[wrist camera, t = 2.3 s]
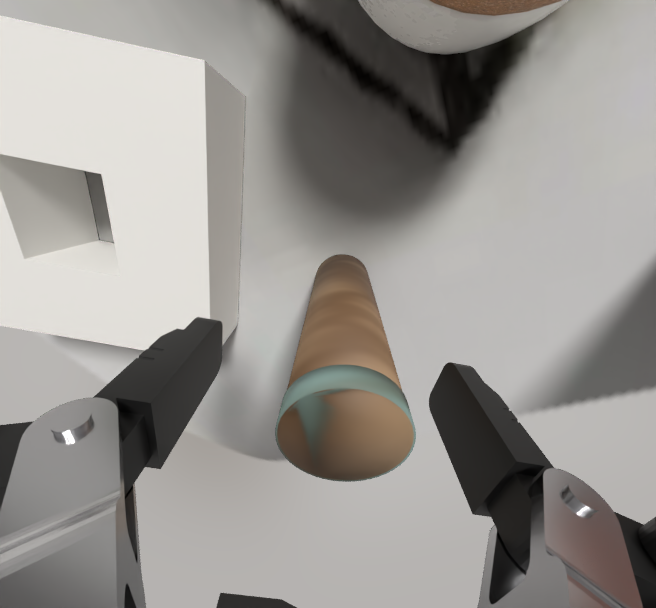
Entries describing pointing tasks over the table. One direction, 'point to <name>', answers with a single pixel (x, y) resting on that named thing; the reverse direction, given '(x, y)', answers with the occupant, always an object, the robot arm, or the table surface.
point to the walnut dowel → (344, 384)
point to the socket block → (116, 188)
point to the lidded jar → (455, 21)
